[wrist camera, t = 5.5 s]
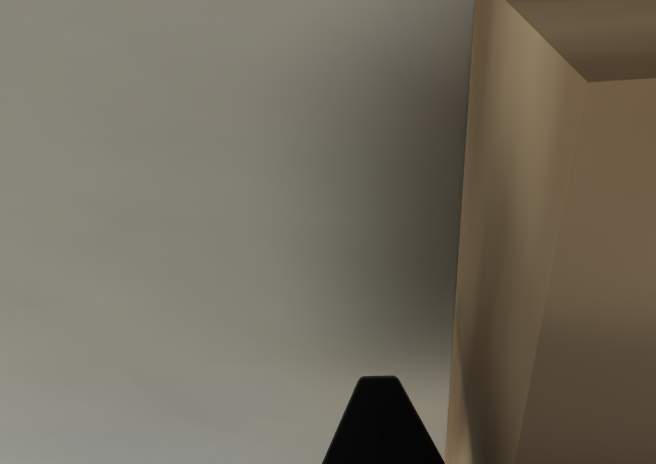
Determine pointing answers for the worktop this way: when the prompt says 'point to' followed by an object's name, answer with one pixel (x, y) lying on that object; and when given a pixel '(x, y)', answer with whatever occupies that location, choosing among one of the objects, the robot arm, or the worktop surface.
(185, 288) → the worktop surface
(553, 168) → the tan block
